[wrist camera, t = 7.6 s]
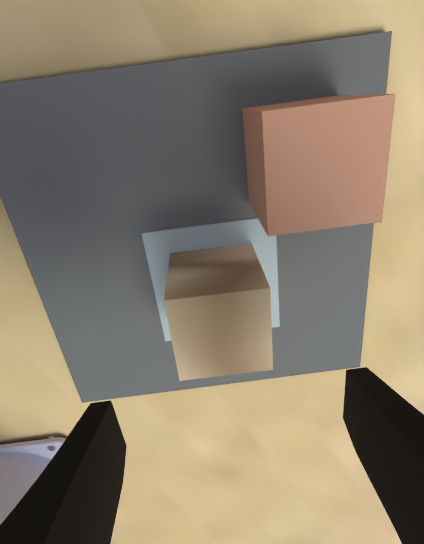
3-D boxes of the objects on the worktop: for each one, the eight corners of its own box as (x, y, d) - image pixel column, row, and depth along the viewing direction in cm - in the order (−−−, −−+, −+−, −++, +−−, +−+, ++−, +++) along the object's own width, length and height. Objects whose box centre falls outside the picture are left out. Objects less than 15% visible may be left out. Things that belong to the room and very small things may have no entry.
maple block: (181, 320, 19) (179, 380, 15) (170, 252, 17) (163, 300, 13) (255, 311, 19) (273, 369, 15) (251, 243, 17) (270, 288, 13)
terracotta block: (248, 202, 16) (268, 236, 12) (242, 108, 14) (261, 111, 10) (334, 191, 16) (381, 221, 12) (338, 95, 14) (395, 93, 10)
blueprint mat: (84, 396, 22) (81, 403, 21) (-35, 88, 14) (-44, 88, 13) (356, 361, 22) (360, 367, 21) (385, 33, 14) (393, 30, 13)
